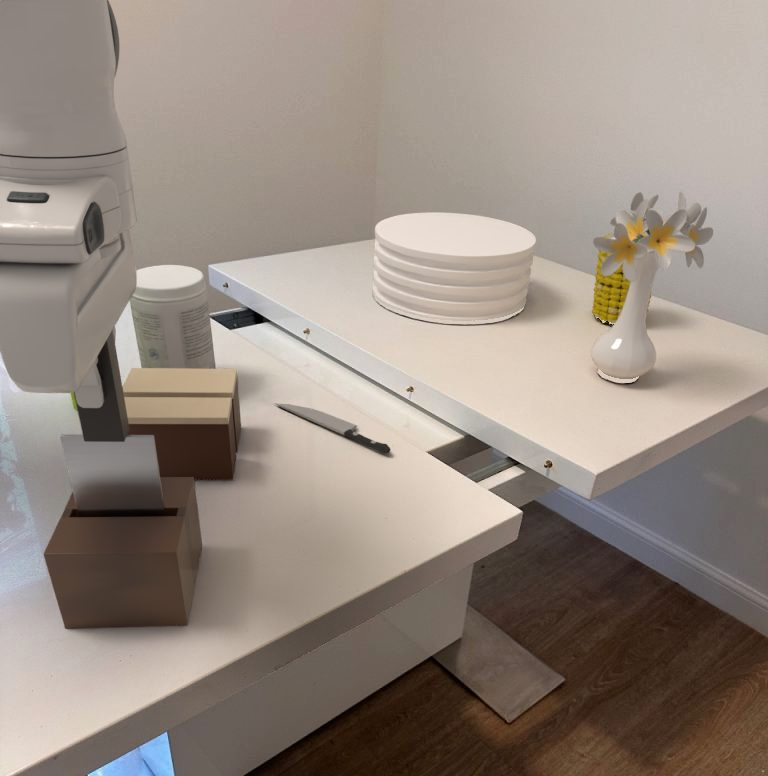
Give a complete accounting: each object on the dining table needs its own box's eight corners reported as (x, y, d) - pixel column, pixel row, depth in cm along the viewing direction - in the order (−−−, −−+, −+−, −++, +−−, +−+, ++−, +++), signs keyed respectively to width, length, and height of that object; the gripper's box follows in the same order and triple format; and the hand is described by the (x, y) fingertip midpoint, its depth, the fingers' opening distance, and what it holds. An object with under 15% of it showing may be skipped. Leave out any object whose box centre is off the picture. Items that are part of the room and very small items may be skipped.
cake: (131, 453, 82) (120, 391, 78) (141, 427, 87) (131, 367, 83) (237, 453, 84) (232, 392, 79) (241, 427, 89) (236, 368, 84)
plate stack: (410, 264, 147) (414, 205, 140) (543, 290, 137) (554, 228, 131) (345, 304, 126) (346, 236, 119) (496, 337, 117) (507, 266, 110)
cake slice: (121, 481, 78) (108, 417, 73) (129, 458, 81) (118, 396, 77) (233, 480, 79) (227, 417, 74) (236, 458, 83) (231, 397, 78)
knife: (81, 544, 60) (29, 328, 49) (87, 530, 62) (38, 317, 51) (166, 544, 61) (134, 330, 50) (170, 529, 63) (139, 319, 52)
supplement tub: (210, 366, 102) (200, 261, 94) (222, 395, 95) (212, 285, 87) (140, 373, 99) (123, 266, 91) (146, 403, 92) (128, 290, 84)
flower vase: (553, 386, 103) (591, 201, 88) (598, 347, 115) (638, 179, 101) (642, 414, 97) (698, 220, 82) (679, 369, 110) (734, 195, 95)
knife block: (64, 628, 60) (43, 554, 55) (95, 547, 68) (79, 477, 64) (187, 625, 61) (176, 551, 56) (202, 546, 69) (193, 476, 65)
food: (646, 339, 123) (586, 335, 125) (642, 302, 131) (586, 299, 133) (668, 257, 112) (602, 253, 114) (663, 221, 120) (601, 219, 121)
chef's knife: (290, 399, 96) (273, 405, 94) (290, 391, 95) (273, 397, 93) (402, 449, 86) (386, 457, 84) (403, 440, 86) (387, 448, 84)
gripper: (55, 161, 53) (89, 337, 62) (-57, 237, 37) (9, 464, 45) (142, 165, 54) (164, 339, 62) (70, 242, 38) (112, 465, 46)
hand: (98, 393), depth 53 cm, fingers closed on knife, 2 cm apart
